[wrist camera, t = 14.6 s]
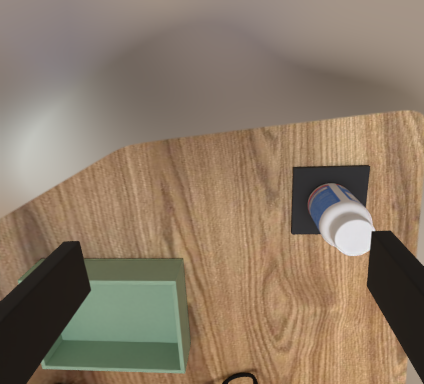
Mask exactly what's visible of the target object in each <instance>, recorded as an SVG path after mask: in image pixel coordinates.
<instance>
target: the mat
mask: <svg viewBox="0 0 424 384" xmlns="http://www.w3.org/2000/svg"><path fill="white" fill-rule="evenodd" d="M369 172H370V166H369V165H357V166H320V167H293V190H292V223H291V233H292V234H321V233H320V231H319V230H318V228H317V226H316V224H315V222H314V220H313V219H312V217H311V215H310V213H309V210H308V200H309V197H310V195H311V193H312V192H313V191H314V190H315V189H316V188H318V187H319V186H321V185H324V184H328V183H335V184H339V185H341V186H343V187H345V188H346V189H347V190H348V191H349V192H350V193H351V194H352V195H353V196H354V197H355V198H356V199H357V200H358V201H359V202H360V203H361V204H362V205H363V206H364V207H365V208H366V199H367V190H368V181H369Z"/></svg>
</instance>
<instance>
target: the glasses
mask: <svg viewBox="0 0 424 384" xmlns="http://www.w3.org/2000/svg"><path fill="white" fill-rule="evenodd" d="M239 377H251V378H252V379H253V384H258V382H257V379H256V377H255V376H254V375H253V374H251V373H239V374H235V375H232V376H230V377H228V378H227V379H226V380H225V381H224V382H223V383H222V384H228V383H229V381H231V380H233V379H235V378H239Z"/></svg>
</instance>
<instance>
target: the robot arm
mask: <svg viewBox="0 0 424 384" xmlns="http://www.w3.org/2000/svg"><path fill="white" fill-rule="evenodd" d="M367 287H368V289H369V291H370V292H371V294H372V296H373V297H374V299H375V301H376V303H377V304H378V306H379V308H380V310H381V311H382V313H383V315H384V316H385V318H386V320H387V322H388V323H389V325H390V327H391V329H392V330H393V332H394V334H395V335H396V337H397V339H398V341H399V342H400V344H401V346H402V348H403V349H404V351H405V353H406V354H407V356H408V358H409V360H410V361H411V363H412V365H413V367H414V368H415V370H416V372H417V373H418V375H419V377H420V378H421V380H422V382H423V384H424V266H423V265H422V264H421V263H420V262H419V261H418V260H417V259H416V257H415V256H414V255H413V254H412V253H411V252H410V251H409V250H408V249H407V248H406V247H405V246H404V245H403V243H402V242H401V241H400V240H399V239H398V238H397V237H396V236H395V235H394V234H393V233H392V232H391V231H372V232H371V244H370V255H369V267H368V278H367ZM90 292H91V287H90V283H89V279H88V274H87V270H86V266H85V262H84V258H83V254H82V250H81V246H80V242H79V241H68V242H63V243H62V244H61V245H60V246H59V247H58V248H57V249H56V250H55V251H54V252H52V253H51V254H50V255H49V256H48V257H47V258H46V259H45V260H44V261H43V262H42V263H41V264H40V265H39V266H38V267H37V268H36V269H34V270H33V271H32V272H31V273H30V274H29V275H28V276H27V277H26V278H25V279H24V280H23V281H22V282H21V283H20V284H19V285H17V286H16V287H15V288H14V289H13V290H12V291H11V292H10V293H9V294H8V295H7V296H6V297H5V298H4V299H3V300H2V301H0V384H26V383H27V382H28V381H29V379H30V378H31V376H32V375H33V373H34V372H35V371H36V369H37V368H38V366H39V365H40V363H41V362H42V360H43V359H44V358H45V356H46V355H47V353H48V352H49V350H50V349H51V348H52V346H53V345H54V343H55V342H56V340H57V339H58V338H59V336H60V335H61V333H62V332H63V330H64V329H65V327H66V326H67V325H68V323H69V322H70V320H71V319H72V317H73V316H74V315H75V313H76V312H77V310H78V309H79V307H80V306H81V305H82V303H83V302H84V300H85V299H86V297H87V296H88V294H89V293H90Z"/></svg>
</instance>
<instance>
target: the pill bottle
mask: <svg viewBox="0 0 424 384" xmlns="http://www.w3.org/2000/svg"><path fill="white" fill-rule="evenodd" d="M308 210H309V213H310V215H311V217H312V219H313V220H314V222H315V224H316V226H317V228H318V230H319V231H320V233H321V235H322V237H323V238H324V240H325V241H326V242H327V243H328V244H330V245H332V246H334V247H336V248H338V250H339V251H340V252H342V253H343V254H346V255H349V256H358V255H362V254H364V253H366V252H368V251H369V250H370V244H371V232H372V231H375V229H374V227H373V226H372V225H373V223H372V218H371V215H370V213H369V212H368V210H367V209H366V208H365V207H364V206H363V205H362V204H361V203H360V202H359V201H358V200H357V199H356V198H355V197H354V196H353V195H352V194H351V193H350V192H349V191H348V190H347V189H346V188H345V187H343V186H341V185H339V184H335V183H328V184H324V185H321V186H319V187H318V188H316V189H315V190H314V191H313V192H312V193H311V195H310V197H309V200H308Z"/></svg>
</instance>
